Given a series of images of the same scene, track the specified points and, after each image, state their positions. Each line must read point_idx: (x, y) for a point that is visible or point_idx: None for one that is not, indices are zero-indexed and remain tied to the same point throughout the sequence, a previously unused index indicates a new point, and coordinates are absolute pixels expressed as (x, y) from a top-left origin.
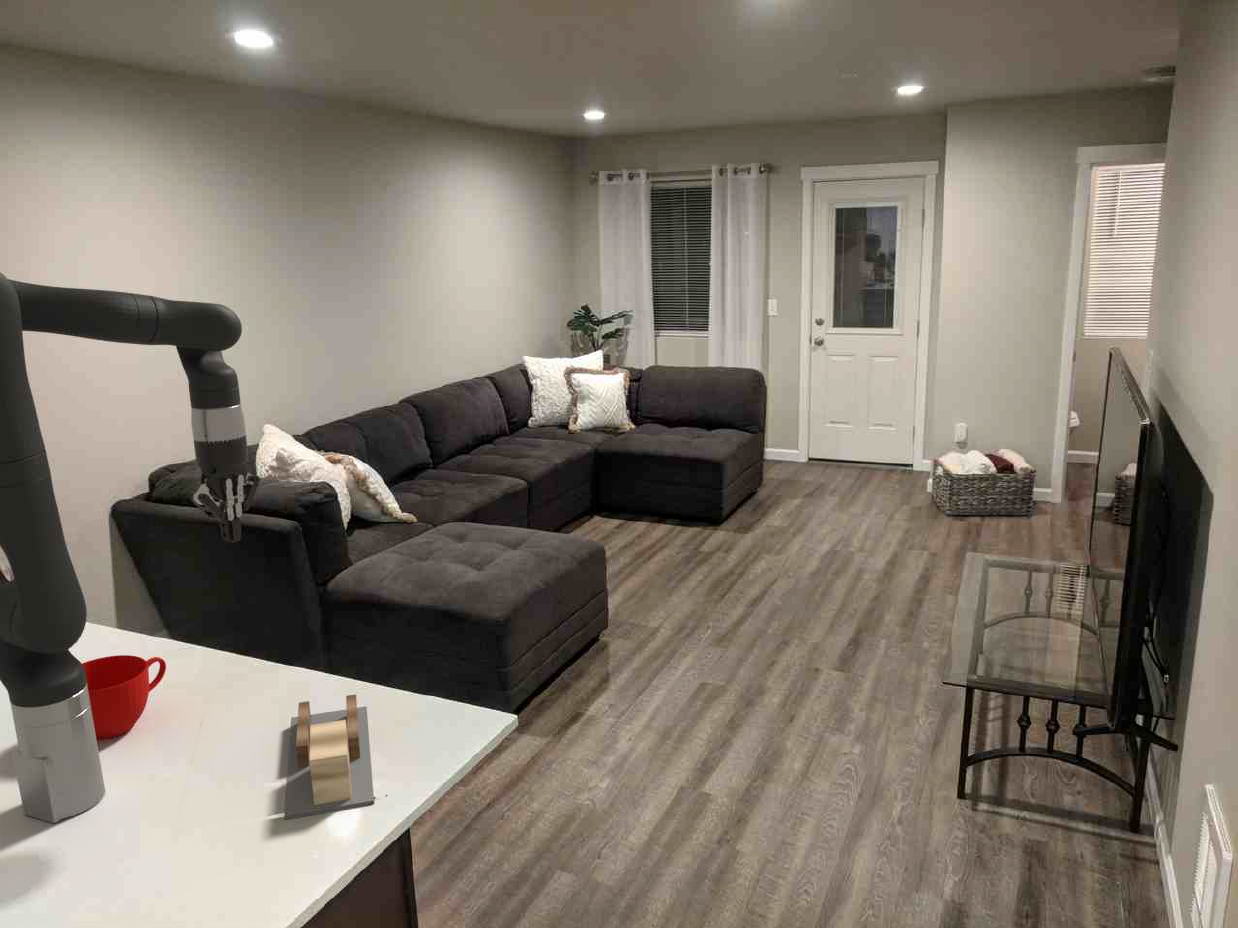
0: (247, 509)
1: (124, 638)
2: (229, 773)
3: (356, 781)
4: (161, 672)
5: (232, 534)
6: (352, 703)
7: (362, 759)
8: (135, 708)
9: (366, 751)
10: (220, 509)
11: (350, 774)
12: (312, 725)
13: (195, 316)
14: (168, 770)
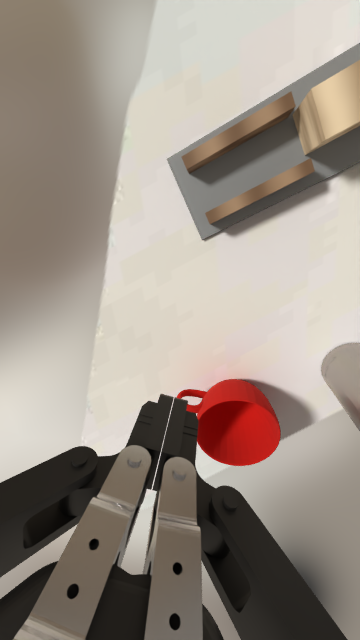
0: (83, 449)
1: None
2: (308, 251)
3: None
4: (184, 393)
5: (185, 418)
6: (204, 149)
7: None
8: (244, 383)
9: (269, 102)
10: (238, 542)
11: None
12: (326, 136)
13: None
14: (301, 312)
